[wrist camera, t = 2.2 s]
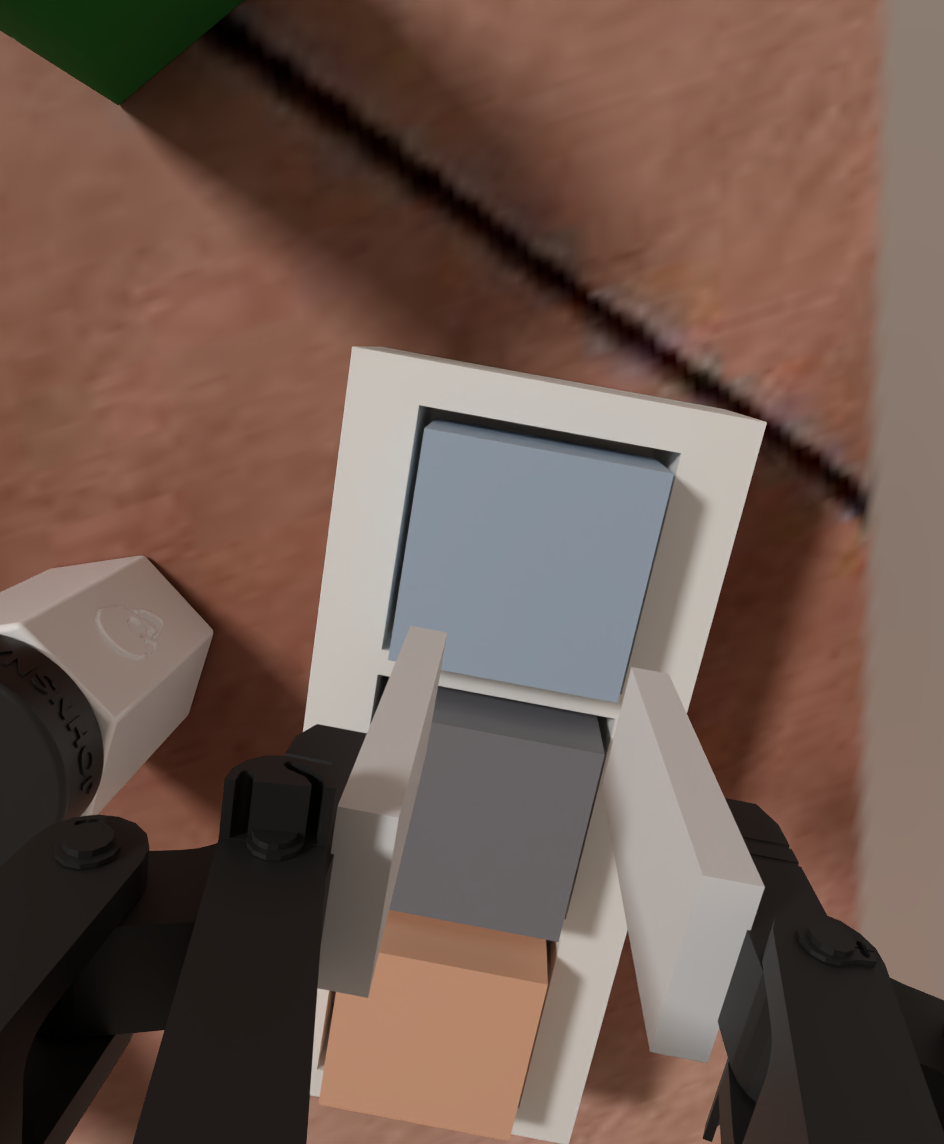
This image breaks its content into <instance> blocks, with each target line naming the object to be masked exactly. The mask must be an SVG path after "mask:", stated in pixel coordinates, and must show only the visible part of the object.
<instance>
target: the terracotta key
mask: <svg viewBox="0 0 944 1144" xmlns="http://www.w3.org/2000/svg"><path fill="white" fill-rule="evenodd" d="M547 987H548V974H547V949H546V940H545V939H540V938H534V937H529V936H524V935H519V934H513V933H508V932H503V931H497V930H492V929H487V928H482V927H476V926H471V925H466V924H461V923H455V922H450V921H445V920H440V919H434V918H429V917H424V916H419V915H413V914H408V913H403V912H398V911H392V910H389V912H388V917H387V921H386V925H385V929H384V933H383V938H382V942H381V946H380V950H379V955H378V959H377V963H376V967H375V971H374V976H373V980H372V984H371V988H370V992H369V997H368V998H365V997H360V996H355V995H350V994H344V993H339V992H336V995H335V1001H334V1008H333V1014H332V1021H331V1027H330V1033H329V1040H328V1046H327V1052H326V1059H325V1065H324V1072H323V1078H322V1084H321V1091H320V1097H319V1103H318V1104H319V1105H324V1106H329V1107H335V1108H340V1109H345V1110H350V1111H355V1112H360V1113H366V1114H371V1115H376V1116H381V1117H386V1118H392V1119H397V1120H402V1121H407V1122H412V1123H417V1124H423V1125H428V1126H433V1127H438V1128H443V1129H448V1130H454V1131H459V1132H464V1133H469V1134H474V1135H480V1136H485V1137H490V1138H495V1139H500V1140H505V1141H509V1140H510V1136H511V1132H512V1128H513V1124H514V1120H515V1116H516V1112H517V1108H518V1104H519V1100H520V1096H521V1092H522V1088H523V1084H524V1080H525V1076H526V1072H527V1068H528V1063H529V1059H530V1055H531V1051H532V1047H533V1043H534V1039H535V1035H536V1031H537V1027H538V1023H539V1019H540V1015H541V1011H542V1007H543V1003H544V999H545V995H546V991H547Z"/></svg>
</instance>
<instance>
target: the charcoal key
mask: <svg viewBox="0 0 944 1144" xmlns="http://www.w3.org/2000/svg"><path fill="white" fill-rule="evenodd" d="M604 756H605V753H604V748H603V743H602V738H601V733H600V729H599V724H598V719H597V715H592V714H587V713H581V712H576V711H571V710H565V709H560V708H555V707H549V706H544V705H539V704H533V703H528V702H523V701H517V700H512V699H507V698H501V697H496V696H491V695H485V694H480V693H475V692H469V691H464V690H459V689H453V688H448V687H443V686H438V690H437V695H436V701H435V707H434V712H433V718H432V723H431V729H430V735H429V740H428V746H427V752H426V756H425V760H424V765H423V769H422V773H421V777H420V782H419V786H418V790H417V794H416V798H415V803H414V807H413V811H412V815H411V820H410V824H409V828H408V832H407V836H406V841H405V845H404V849H403V853H402V858H401V862H400V866H399V870H398V874H397V879H396V883H395V887H394V891H393V895H392V900H391V904H390V908H389V910H392V911H398V912H403V913H408V914H413V915H419V916H424V917H429V918H434V919H440V920H445V921H450V922H455V923H461V924H466V925H471V926H476V927H482V928H487V929H492V930H497V931H503V932H508V933H513V934H519V935H524V936H529V937H534V938H540V939H545V940H550V941H555V942H559V938H560V934H561V930H562V926H563V922H564V918H565V914H566V910H567V906H568V902H569V897H570V893H571V889H572V885H573V881H574V877H575V873H576V869H577V865H578V861H579V857H580V853H581V849H582V845H583V841H584V837H585V833H586V829H587V825H588V821H589V816H590V812H591V808H592V804H593V800H594V796H595V792H596V788H597V784H598V780H599V776H600V772H601V768H602V764H603V760H604Z"/></svg>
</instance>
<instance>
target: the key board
mask: <svg viewBox="0 0 944 1144" xmlns="http://www.w3.org/2000/svg"><path fill="white" fill-rule="evenodd" d="M436 418H442V419H447V420H453V421H458V422H464V423H469V424H475V425H480V426H485V427H491V428H496V429H502V430H507V431H513V432H518V433H524V434H529V435H535V436H540V437H545V438H551V439H556V440H562V441H567V442H573V443H578V444H584V445H589V446H594V447H600V448H605V449H611V450H616V451H622V452H627V453H633V454H638V455H644V456H649V457H654V458H655V459H656V460H658V461H659V462H660V463H661V464H663V465H664V466H665V467H666V468H667V469H669V470H670V471H671V472H672V473H673V474H674V476H673V480H672V484H671V488H670V492H669V497H668V501H667V505H666V509H665V513H664V517H663V521H662V525H661V529H660V533H659V537H658V541H657V545H656V549H655V553H654V557H653V561H652V565H651V569H650V573H649V578H648V582H647V586H646V590H645V594H644V598H643V602H642V606H641V610H640V614H639V618H638V622H637V626H636V630H635V634H634V638H633V642H632V646H631V650H630V654H629V659H628V663H627V667H626V671H625V675H624V679H623V683H622V687H621V691H620V695H619V699H618V703H615V702H610V701H604V700H599V699H594V698H588V697H583V696H578V695H572V694H567V693H561V692H556V691H551V690H545V689H540V688H535V687H529V686H524V685H519V684H513V683H508V682H503V681H497V680H492V679H487V678H481V677H476V676H471V675H465V674H460V673H454V672H449V671H444V670H441V673H440V678H439V684H438V686H443V687H448V688H453V689H459V690H464V691H469V692H475V693H480V694H485V695H491V696H496V697H501V698H507V699H512V700H517V701H523V702H528V703H533V704H539V705H544V706H549V707H555V708H560V709H565V710H571V711H576V712H581V713H587V714H592V715H597V719H598V724H599V729H600V733H601V738H602V743H603V748H604V753H605V756H604V760H603V764H602V768H601V772H600V776H599V780H598V784H597V788H596V792H595V796H594V800H593V804H592V808H591V812H590V816H589V821H588V825H587V829H586V833H585V837H584V841H583V845H582V849H581V853H580V857H579V861H578V865H577V869H576V873H575V877H574V881H573V885H572V889H571V893H570V897H569V902H568V906H567V910H566V914H565V918H564V922H563V926H562V930H561V934H560V938H559V942H555V941H550V940H546V949H547V974H548V987H547V991H546V995H545V999H544V1003H543V1007H542V1011H541V1015H540V1019H539V1023H538V1027H537V1031H536V1035H535V1039H534V1043H533V1047H532V1051H531V1055H530V1059H529V1063H528V1068H527V1072H526V1076H525V1080H524V1084H523V1088H522V1092H521V1096H520V1100H519V1104H518V1108H517V1112H516V1116H515V1120H514V1124H513V1128H512V1132H511V1134H514V1135H519V1136H524V1137H530V1138H535V1139H540V1140H545V1141H550V1142H556V1143H561V1144H569V1141H570V1137H571V1134H572V1130H573V1127H574V1123H575V1119H576V1116H577V1112H578V1108H579V1105H580V1101H581V1097H582V1094H583V1090H584V1086H585V1083H586V1079H587V1076H588V1072H589V1068H590V1065H591V1061H592V1057H593V1054H594V1050H595V1046H596V1043H597V1039H598V1035H599V1032H600V1028H601V1025H602V1021H603V1017H604V1014H605V1010H606V1006H607V1003H608V999H609V995H610V992H611V988H612V984H613V981H614V977H615V974H616V970H617V966H618V963H619V959H620V955H621V952H622V948H623V944H624V941H625V937H626V933H627V930H628V928H627V923H626V917H625V912H624V906H623V901H622V895H621V890H620V884H619V879H618V873H617V868H616V862H615V857H614V851H613V846H612V840H611V835H610V829H609V824H608V818H607V813H606V807H605V802H604V796H603V791H602V783H603V779H604V775H605V771H606V767H607V763H608V759H609V755H610V751H611V747H612V743H613V739H614V735H615V731H616V727H617V723H618V719H619V715H620V711H621V707H622V703H623V699H624V695H625V691H626V687H627V683H628V678H629V674H630V670H631V667H634V668H640V669H645V670H651V671H656V672H661V673H667V674H669V675H670V678H671V680H672V682H673V684H674V686H675V689H676V691H677V693H678V695H679V698H680V700H681V702H682V704H683V706H684V709H685V711H686V713H687V711H688V708H689V704H690V700H691V697H692V693H693V689H694V686H695V682H696V679H697V675H698V671H699V668H700V664H701V660H702V657H703V653H704V649H705V646H706V642H707V638H708V635H709V631H710V628H711V624H712V620H713V617H714V613H715V609H716V606H717V602H718V598H719V595H720V591H721V587H722V584H723V580H724V577H725V573H726V569H727V566H728V562H729V558H730V555H731V551H732V547H733V544H734V540H735V536H736V533H737V529H738V526H739V522H740V518H741V515H742V511H743V507H744V504H745V500H746V496H747V493H748V489H749V485H750V482H751V478H752V475H753V471H754V467H755V464H756V460H757V456H758V453H759V449H760V445H761V442H762V438H763V434H764V431H765V427H766V424H767V422H764V421H761V420H758V419H754V418H751V417H748V416H745V415H741V414H738V413H735V412H731V411H728V410H725V409H720V408H715V407H709V406H704V405H698V404H693V403H687V402H682V401H676V400H671V399H665V398H660V397H655V396H649V395H644V394H638V393H633V392H627V391H622V390H616V389H611V388H605V387H600V386H594V385H589V384H583V383H578V382H572V381H567V380H561V379H556V378H550V377H545V376H540V375H534V374H529V373H523V372H518V371H512V370H507V369H501V368H496V367H490V366H485V365H479V364H474V363H468V362H463V361H457V360H452V359H446V358H441V357H436V356H430V355H425V354H419V353H414V352H408V351H403V350H397V349H392V348H386V347H352V353H351V361H350V369H349V377H348V384H347V392H346V400H345V408H344V416H343V423H342V431H341V439H340V447H339V455H338V462H337V470H336V478H335V486H334V494H333V501H332V509H331V517H330V525H329V533H328V540H327V548H326V556H325V564H324V572H323V579H322V587H321V595H320V603H319V611H318V618H317V626H316V634H315V642H314V649H313V657H312V665H311V673H310V681H309V688H308V696H307V704H306V712H305V720H304V727H303V732H304V731H306V730H308V729H309V728H311V727H313V726H314V725H316V724H320V725H325V726H330V727H336V728H341V729H346V730H352V731H357V732H362V733H367V732H368V730H369V727H370V725H371V722H372V720H373V717H374V715H375V712H376V710H377V707H378V705H379V702H380V700H381V697H382V695H383V692H384V690H385V687H386V685H387V682H388V680H389V678H390V675H391V673H392V670H393V668H394V665H395V663H396V661H390V660H388V657H389V651H390V644H391V638H392V631H393V625H394V619H395V612H396V606H397V600H398V593H399V587H400V580H401V574H402V568H403V561H404V555H405V549H406V542H407V536H408V529H409V523H410V517H411V510H412V504H413V498H414V491H415V485H416V478H417V472H418V466H419V459H420V453H421V446H422V440H423V434H424V428H425V427H426V426H428V425H429V424H430V423H431V422H433V421H434V420H435V419H436ZM335 995H336V992H334V991H329V990H324V989H318V988H317V1002H316V1015H315V1029H314V1043H313V1057H312V1071H311V1085H310V1095H312V1096H317V1097H320V1091H321V1084H322V1078H323V1072H324V1065H325V1059H326V1052H327V1046H328V1040H329V1033H330V1027H331V1021H332V1014H333V1008H334V1001H335Z"/></svg>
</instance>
